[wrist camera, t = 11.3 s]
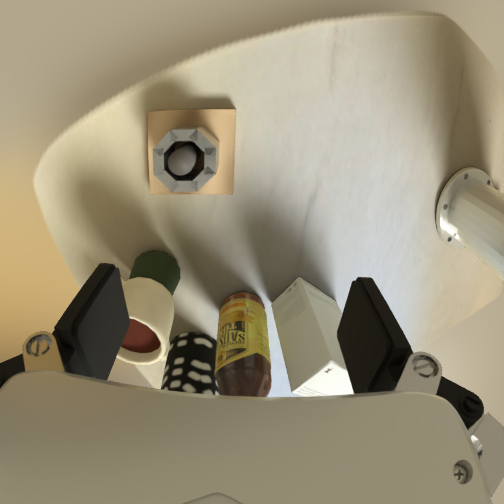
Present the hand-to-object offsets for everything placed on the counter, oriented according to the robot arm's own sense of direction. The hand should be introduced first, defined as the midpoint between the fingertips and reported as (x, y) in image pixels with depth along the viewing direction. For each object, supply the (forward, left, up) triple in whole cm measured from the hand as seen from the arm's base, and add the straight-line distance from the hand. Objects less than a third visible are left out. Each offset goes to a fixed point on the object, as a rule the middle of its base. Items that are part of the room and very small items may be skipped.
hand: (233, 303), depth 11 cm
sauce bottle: (-1, +19, -23) cm, 29 cm away
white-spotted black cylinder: (+6, +28, -23) cm, 36 cm away
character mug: (+10, +13, -23) cm, 28 cm away
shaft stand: (+5, -2, -22) cm, 23 cm away
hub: (+4, -2, -21) cm, 22 cm away
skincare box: (-10, +18, -23) cm, 31 cm away
